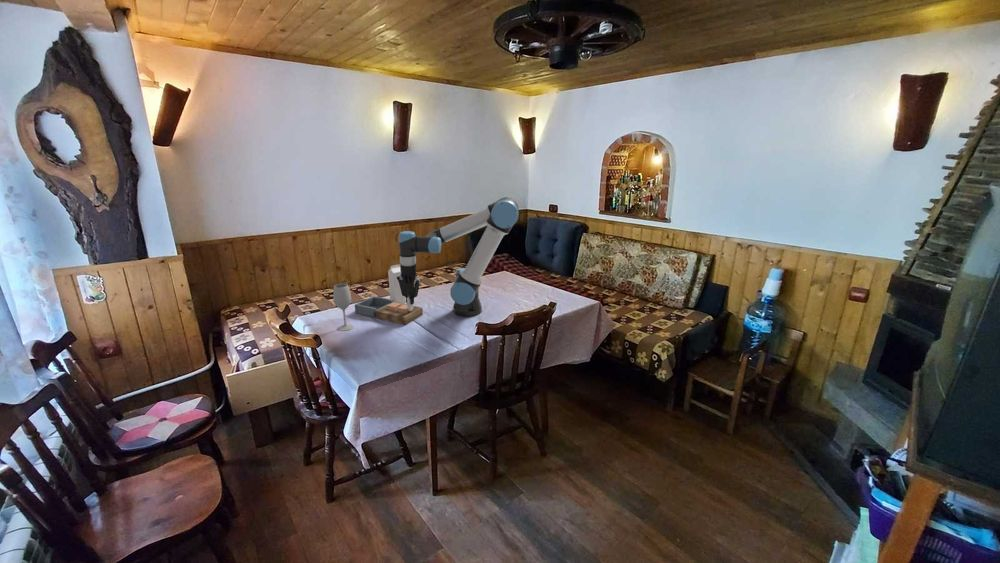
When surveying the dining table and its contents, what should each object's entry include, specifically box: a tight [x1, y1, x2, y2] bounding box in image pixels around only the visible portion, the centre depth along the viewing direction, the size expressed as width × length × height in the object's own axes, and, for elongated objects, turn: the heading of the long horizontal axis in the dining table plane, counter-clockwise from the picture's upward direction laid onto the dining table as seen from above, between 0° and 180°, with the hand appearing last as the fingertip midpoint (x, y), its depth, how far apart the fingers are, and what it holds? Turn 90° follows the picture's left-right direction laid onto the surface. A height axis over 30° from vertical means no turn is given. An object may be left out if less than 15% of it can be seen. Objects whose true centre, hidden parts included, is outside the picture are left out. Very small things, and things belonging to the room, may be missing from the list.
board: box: [375, 302, 424, 326], centre depth 198 cm, size 18×14×4 cm
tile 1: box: [387, 302, 402, 311], centre depth 198 cm, size 5×5×2 cm
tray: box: [354, 295, 393, 319], centre depth 204 cm, size 13×14×5 cm
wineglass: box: [332, 283, 355, 332], centre depth 182 cm, size 8×8×21 cm
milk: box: [387, 263, 406, 304], centre depth 212 cm, size 6×6×22 cm
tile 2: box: [398, 303, 409, 313], centre depth 196 cm, size 5×5×2 cm
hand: (410, 309), depth 194 cm, fingers closed
